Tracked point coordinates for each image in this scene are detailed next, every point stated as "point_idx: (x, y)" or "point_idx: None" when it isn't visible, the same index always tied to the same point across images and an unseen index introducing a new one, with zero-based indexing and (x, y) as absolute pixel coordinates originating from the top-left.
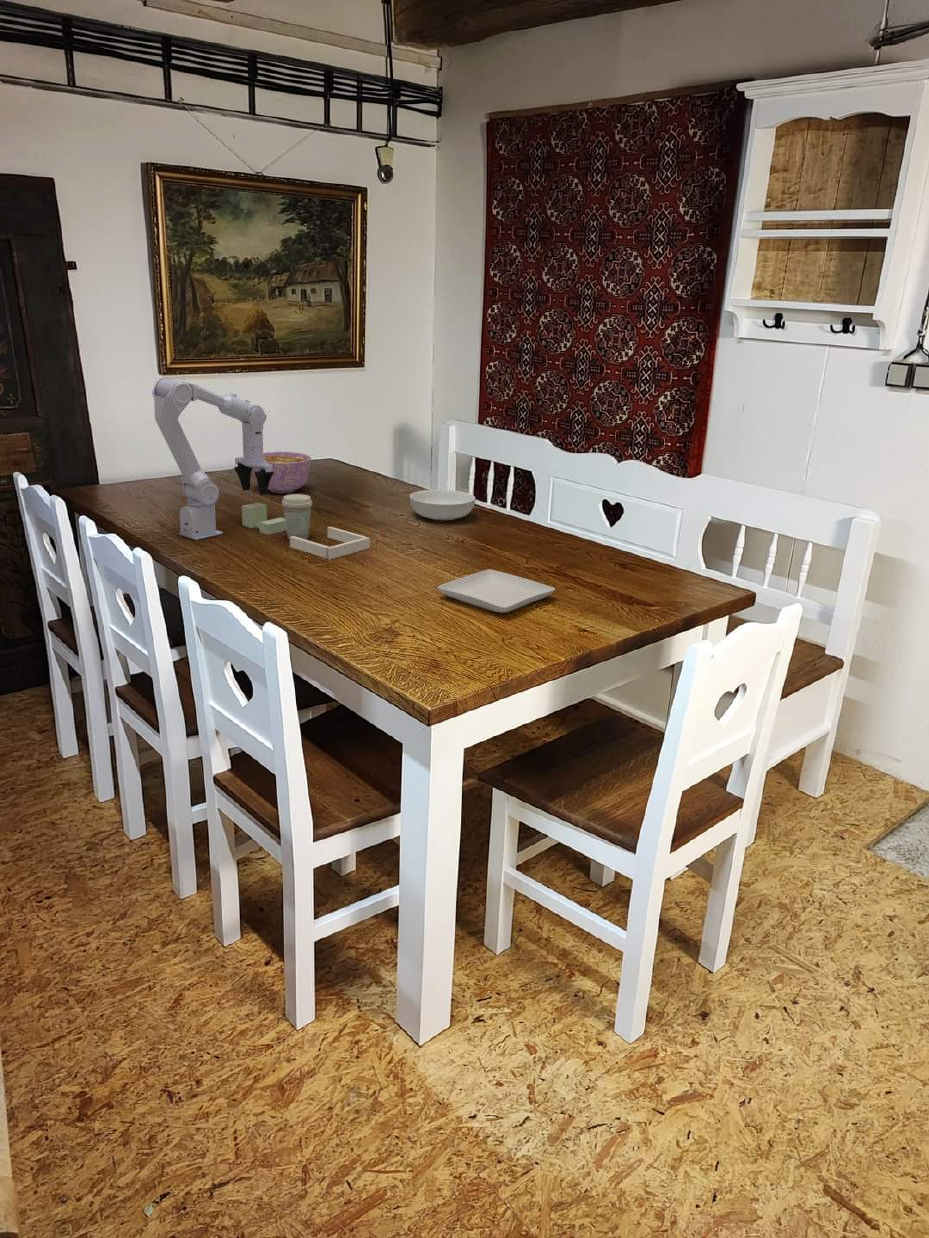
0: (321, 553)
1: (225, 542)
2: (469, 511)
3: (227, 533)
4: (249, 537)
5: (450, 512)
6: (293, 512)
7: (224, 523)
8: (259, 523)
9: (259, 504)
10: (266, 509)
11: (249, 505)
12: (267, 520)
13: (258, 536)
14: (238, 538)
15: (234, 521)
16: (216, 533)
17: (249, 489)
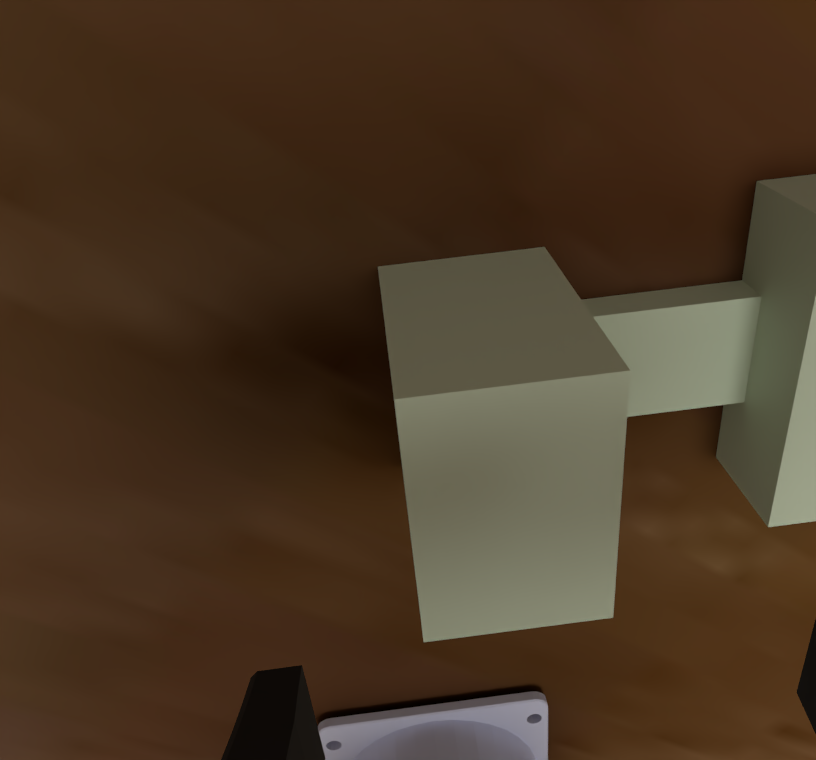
0: None
1: (718, 736)
2: None
3: (540, 654)
4: (765, 585)
5: None
6: None
7: (230, 558)
8: (763, 516)
9: (525, 439)
10: (604, 335)
11: (476, 568)
12: (792, 430)
13: (806, 524)
14: (716, 649)
15: (208, 459)
16: (538, 738)
17: (299, 670)
